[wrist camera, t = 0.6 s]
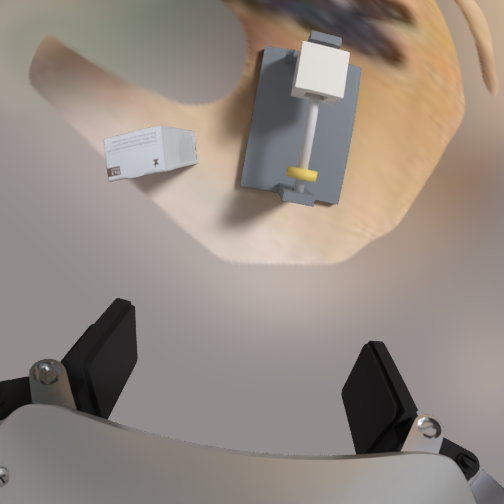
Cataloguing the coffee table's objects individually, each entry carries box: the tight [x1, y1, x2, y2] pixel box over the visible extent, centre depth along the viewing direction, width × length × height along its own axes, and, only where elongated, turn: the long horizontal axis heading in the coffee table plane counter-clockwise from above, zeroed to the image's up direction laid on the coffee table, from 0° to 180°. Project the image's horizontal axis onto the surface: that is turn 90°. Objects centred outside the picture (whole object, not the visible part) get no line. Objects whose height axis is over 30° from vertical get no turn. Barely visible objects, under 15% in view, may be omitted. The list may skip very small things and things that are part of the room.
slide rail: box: [240, 31, 362, 207], centre depth 28 cm, size 18×12×8 cm, turn 170°
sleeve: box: [291, 41, 350, 105], centre depth 24 cm, size 5×4×4 cm
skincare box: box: [104, 125, 198, 182], centre depth 28 cm, size 6×4×12 cm
